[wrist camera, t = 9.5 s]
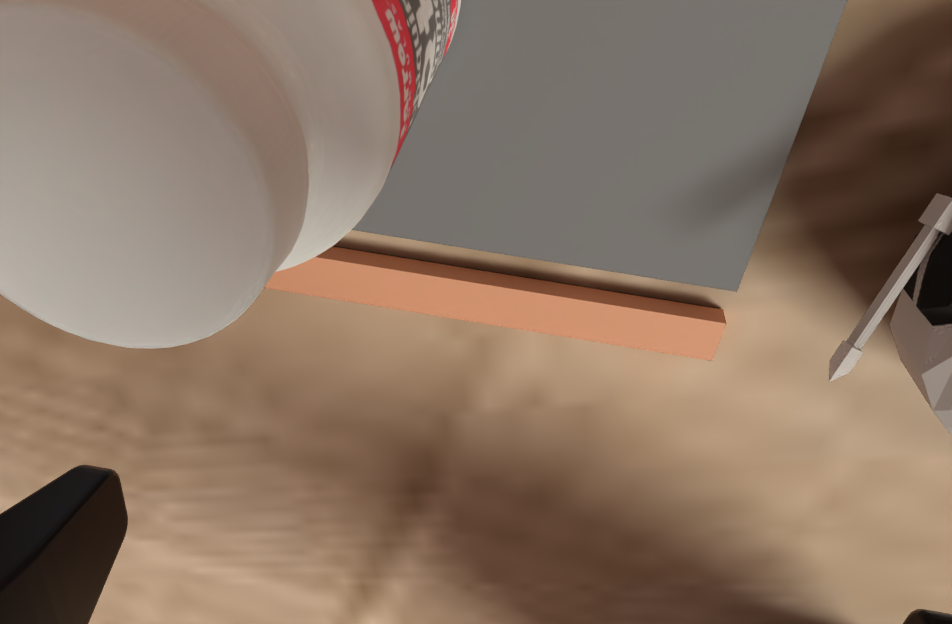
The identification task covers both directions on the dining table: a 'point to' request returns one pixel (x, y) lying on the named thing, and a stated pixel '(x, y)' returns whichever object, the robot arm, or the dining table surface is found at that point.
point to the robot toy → (916, 312)
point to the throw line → (507, 301)
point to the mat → (609, 132)
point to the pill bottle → (194, 149)
